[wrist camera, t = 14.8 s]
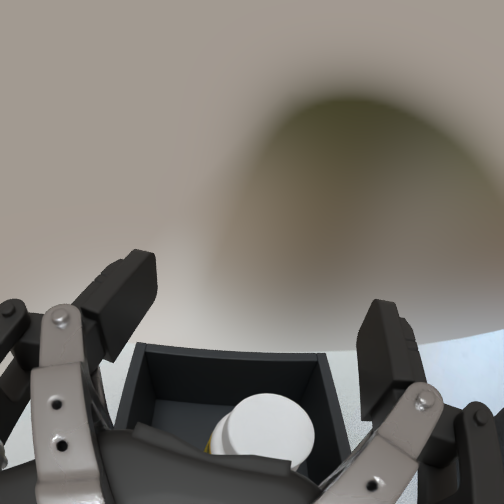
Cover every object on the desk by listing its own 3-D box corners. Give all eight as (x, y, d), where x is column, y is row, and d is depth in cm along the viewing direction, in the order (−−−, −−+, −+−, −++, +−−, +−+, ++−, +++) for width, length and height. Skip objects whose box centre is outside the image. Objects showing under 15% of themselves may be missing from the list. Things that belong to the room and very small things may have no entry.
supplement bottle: (214, 430, 18) (243, 369, 14) (276, 456, 17) (332, 405, 13) (184, 484, 14) (200, 451, 10) (253, 512, 13) (309, 492, 9)
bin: (129, 537, 10) (95, 528, 7) (149, 394, 21) (136, 341, 18) (324, 541, 12) (368, 530, 8) (302, 402, 22) (326, 352, 19)
